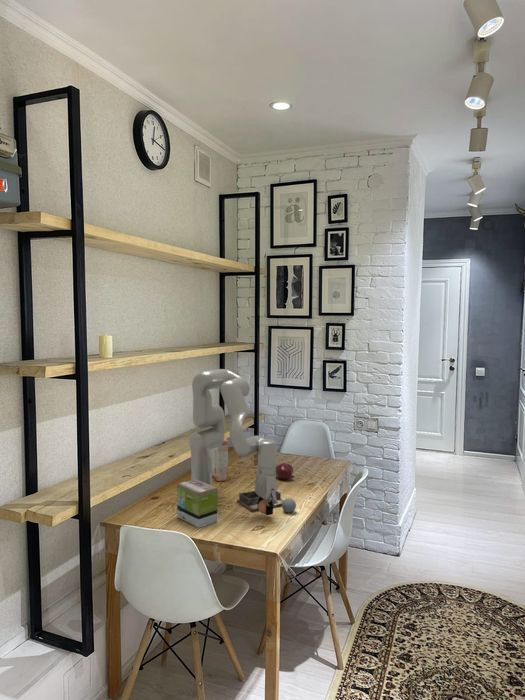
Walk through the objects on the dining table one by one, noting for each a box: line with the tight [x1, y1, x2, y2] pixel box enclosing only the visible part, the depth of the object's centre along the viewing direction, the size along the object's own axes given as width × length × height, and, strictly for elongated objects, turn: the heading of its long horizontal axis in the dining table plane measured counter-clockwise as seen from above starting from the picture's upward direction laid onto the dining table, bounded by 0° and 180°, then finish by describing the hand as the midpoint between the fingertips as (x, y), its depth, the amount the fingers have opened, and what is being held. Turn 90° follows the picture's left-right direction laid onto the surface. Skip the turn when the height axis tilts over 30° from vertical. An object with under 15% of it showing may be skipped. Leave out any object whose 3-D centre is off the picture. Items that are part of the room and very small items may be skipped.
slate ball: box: [281, 497, 297, 514], centre depth 227 cm, size 6×6×6 cm
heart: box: [275, 462, 294, 481], centre depth 275 cm, size 12×8×10 cm
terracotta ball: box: [258, 499, 270, 515], centre depth 220 cm, size 6×6×6 cm
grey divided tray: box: [236, 490, 285, 514], centre depth 237 cm, size 18×14×4 cm
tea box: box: [176, 479, 218, 529], centre depth 217 cm, size 15×10×15 cm
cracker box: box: [209, 437, 229, 482], centre depth 274 cm, size 14×6×21 cm, turn 22°
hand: (265, 511), depth 221 cm, fingers closed on terracotta ball, 5 cm apart
